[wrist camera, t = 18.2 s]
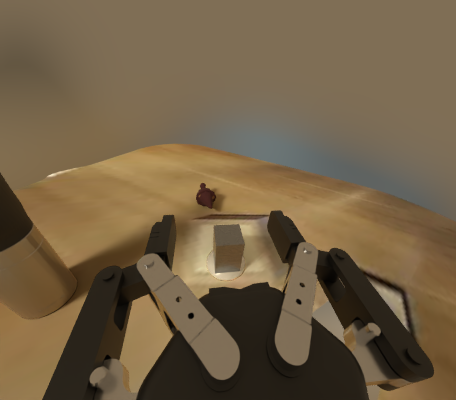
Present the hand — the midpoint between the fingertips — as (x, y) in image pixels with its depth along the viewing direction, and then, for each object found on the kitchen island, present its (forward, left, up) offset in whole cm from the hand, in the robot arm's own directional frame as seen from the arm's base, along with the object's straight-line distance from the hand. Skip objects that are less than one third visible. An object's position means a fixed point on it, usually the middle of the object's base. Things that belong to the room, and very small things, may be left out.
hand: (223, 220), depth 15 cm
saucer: (-9, +15, -30) cm, 35 cm away
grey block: (-9, +15, -29) cm, 34 cm away
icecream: (-31, +30, -30) cm, 53 cm away
